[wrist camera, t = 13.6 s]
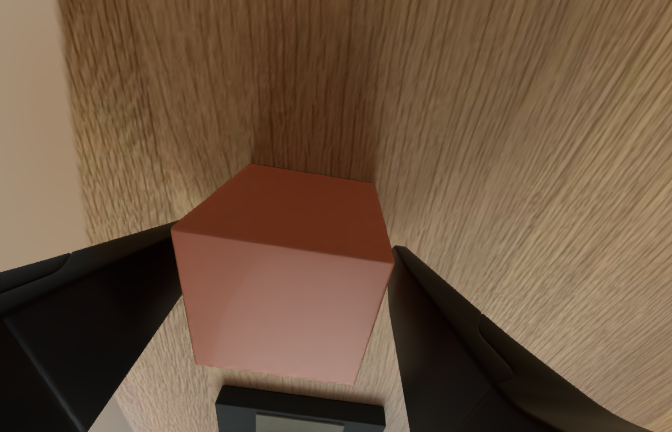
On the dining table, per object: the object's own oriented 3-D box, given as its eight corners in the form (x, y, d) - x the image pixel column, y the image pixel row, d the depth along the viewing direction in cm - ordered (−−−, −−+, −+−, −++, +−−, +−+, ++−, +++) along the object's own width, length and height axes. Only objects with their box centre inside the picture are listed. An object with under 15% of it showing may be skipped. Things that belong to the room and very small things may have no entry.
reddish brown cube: (250, 263, 11) (194, 365, 7) (249, 162, 9) (168, 227, 5) (352, 278, 11) (354, 387, 7) (375, 183, 9) (396, 262, 5)
